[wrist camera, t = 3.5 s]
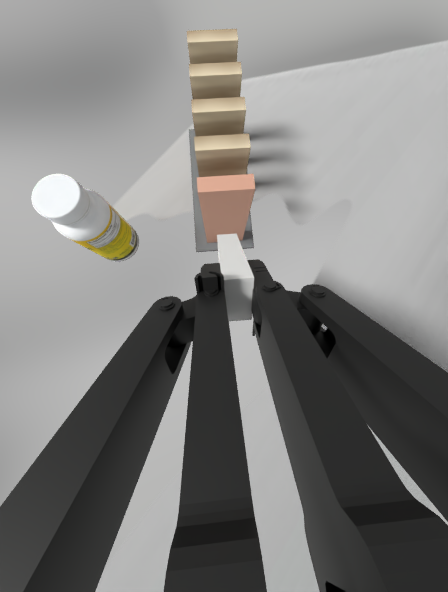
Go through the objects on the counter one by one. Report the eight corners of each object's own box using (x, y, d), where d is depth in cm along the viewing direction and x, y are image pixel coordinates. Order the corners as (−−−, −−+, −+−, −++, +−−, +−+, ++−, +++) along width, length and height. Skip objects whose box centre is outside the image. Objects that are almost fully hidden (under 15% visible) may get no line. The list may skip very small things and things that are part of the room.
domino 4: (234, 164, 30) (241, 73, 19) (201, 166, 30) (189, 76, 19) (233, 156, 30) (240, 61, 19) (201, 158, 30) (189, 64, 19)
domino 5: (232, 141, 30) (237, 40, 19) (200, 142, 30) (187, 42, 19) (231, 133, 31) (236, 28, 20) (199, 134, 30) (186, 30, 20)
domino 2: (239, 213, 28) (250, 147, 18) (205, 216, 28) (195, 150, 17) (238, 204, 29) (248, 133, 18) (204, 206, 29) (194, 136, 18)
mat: (253, 248, 28) (253, 247, 28) (196, 252, 28) (196, 251, 28) (240, 128, 31) (240, 126, 31) (189, 131, 31) (188, 129, 31)
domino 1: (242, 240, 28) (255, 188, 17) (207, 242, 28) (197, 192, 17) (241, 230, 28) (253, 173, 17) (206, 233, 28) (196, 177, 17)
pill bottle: (93, 238, 28) (11, 186, 17) (128, 218, 28) (69, 154, 18) (113, 270, 27) (39, 236, 16) (147, 249, 28) (99, 202, 17)
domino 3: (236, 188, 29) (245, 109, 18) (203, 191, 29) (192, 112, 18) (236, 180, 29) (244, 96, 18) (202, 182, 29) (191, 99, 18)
